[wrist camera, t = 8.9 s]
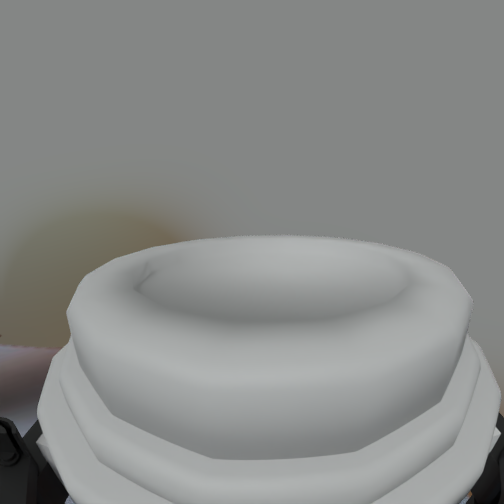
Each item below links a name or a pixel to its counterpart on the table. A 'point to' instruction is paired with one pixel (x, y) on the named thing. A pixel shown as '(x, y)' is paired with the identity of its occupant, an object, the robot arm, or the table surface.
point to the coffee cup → (270, 377)
